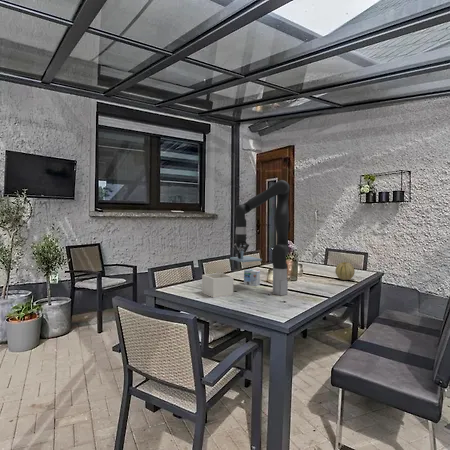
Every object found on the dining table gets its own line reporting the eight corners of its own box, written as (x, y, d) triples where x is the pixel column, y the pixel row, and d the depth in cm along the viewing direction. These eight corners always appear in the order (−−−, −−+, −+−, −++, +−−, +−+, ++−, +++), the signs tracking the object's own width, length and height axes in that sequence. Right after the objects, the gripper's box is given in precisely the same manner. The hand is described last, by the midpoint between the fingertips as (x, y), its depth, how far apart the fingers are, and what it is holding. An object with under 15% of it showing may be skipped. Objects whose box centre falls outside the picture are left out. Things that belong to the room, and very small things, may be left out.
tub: (233, 295, 219) (233, 276, 218) (213, 297, 211) (213, 278, 211) (221, 290, 232) (221, 272, 231) (201, 292, 224) (202, 274, 223)
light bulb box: (243, 284, 251) (243, 270, 250) (247, 282, 257) (247, 268, 256) (256, 286, 246) (257, 271, 245) (260, 284, 252) (260, 270, 251)
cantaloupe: (351, 278, 280) (352, 260, 279) (356, 282, 265) (357, 263, 264) (333, 277, 281) (333, 260, 280) (337, 281, 266) (337, 262, 266)
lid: (261, 260, 233) (262, 251, 233) (242, 262, 225) (243, 252, 225) (248, 257, 247) (248, 248, 247) (230, 259, 239) (230, 249, 238)
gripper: (235, 234, 226) (235, 259, 227) (252, 233, 233) (251, 258, 234) (229, 233, 232) (229, 258, 233) (245, 232, 239) (245, 257, 240)
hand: (240, 258), depth 234 cm, fingers closed on lid, 1 cm apart
